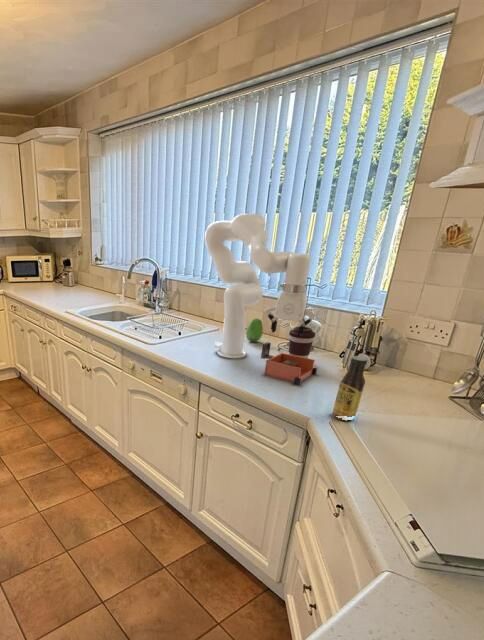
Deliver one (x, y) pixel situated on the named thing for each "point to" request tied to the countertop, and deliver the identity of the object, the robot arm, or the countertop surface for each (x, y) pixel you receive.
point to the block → (291, 363)
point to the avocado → (254, 330)
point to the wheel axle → (298, 380)
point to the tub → (286, 371)
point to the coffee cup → (301, 342)
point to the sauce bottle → (350, 389)
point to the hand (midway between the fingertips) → (286, 333)
